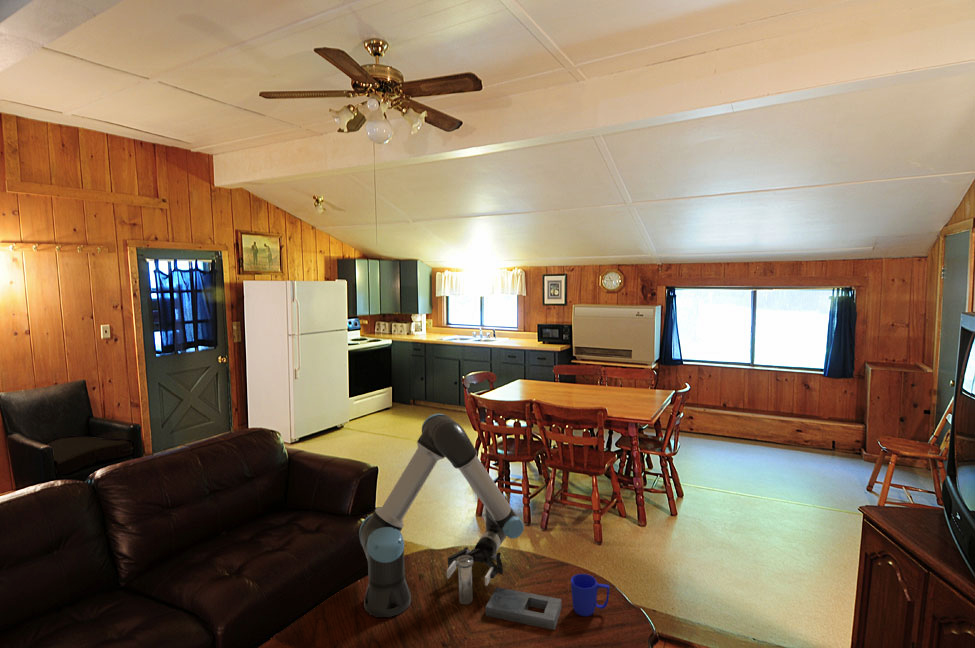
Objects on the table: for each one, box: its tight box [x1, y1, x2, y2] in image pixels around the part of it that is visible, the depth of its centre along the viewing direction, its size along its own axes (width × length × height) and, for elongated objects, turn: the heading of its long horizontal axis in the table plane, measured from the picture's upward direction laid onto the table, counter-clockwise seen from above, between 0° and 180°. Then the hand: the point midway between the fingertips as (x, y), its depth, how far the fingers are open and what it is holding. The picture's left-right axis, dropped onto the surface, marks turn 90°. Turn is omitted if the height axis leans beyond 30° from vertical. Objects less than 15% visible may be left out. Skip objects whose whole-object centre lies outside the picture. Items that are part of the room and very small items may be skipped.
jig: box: [485, 586, 562, 631], centre depth 161 cm, size 22×11×3 cm, turn 71°
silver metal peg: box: [456, 555, 474, 605], centre depth 168 cm, size 6×6×14 cm
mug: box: [570, 573, 610, 617], centre depth 161 cm, size 8×12×10 cm
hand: (466, 578), depth 167 cm, fingers open, 13 cm apart
